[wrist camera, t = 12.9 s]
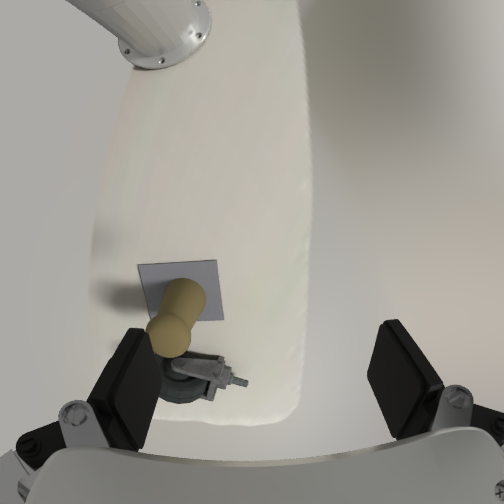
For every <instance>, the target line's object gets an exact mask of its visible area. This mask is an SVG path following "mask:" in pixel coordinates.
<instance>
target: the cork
mask: <svg viewBox="0 0 504 504" xmlns="http://www.w3.org/2000/svg"><path fill="white" fill-rule="evenodd" d="M205 305H206V294H205V291H204V290H203V288H202V287H201V286H200V285H199V284H198V283H197V282H195V281H193V280H191V279H188V278H178V279H175V280H173V281H171V282H170V283H169V284H168V285H167V286H166V289H165V292H164V295H163V298H162V301H161V305H160V308H159V311H158V315H156V316H155V317H153V318H152V319H151V320H150V321H149V323H148V324H147V327H146V331H145V332H147V333H148V334H149V337H150V341H151V344H152V348H153V351H154V352H155V353H156V354H158V355H160V356H162V357H167V358H174V357H177V356H180V355H182V354H183V353H184V352H185V351H186V350H187V349H188V347H189V345H190V342H191V331H190V330H191V329H192V327H193V326H194V324H195V322H196V321H197V319H198V317H199V316H200V314H201V312H202V311H203V309H204V307H205Z"/></svg>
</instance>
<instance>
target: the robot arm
mask: <svg viewBox="0 0 504 504" xmlns="http://www.w3.org/2000/svg"><path fill="white" fill-rule="evenodd" d="M66 1H68V2H69V3H71V4H72V5H74V6H75V7H77V8H78V9H79V10H81V11H82V12H84V13H85V14H86V15H88V16H89V17H91V18H92V19H94V20H95V21H96V22H98V23H99V24H100V25H102V26H103V27H104V28H106V29H107V30H108V31H110V32H111V33H113V34H114V35H115V36H116V37H118V45H119V48H120V51H121V53H122V55H123V56H124V57H125V58H126V59H127V60H128V61H129V62H131V63H132V64H134V65H136V66H138V67H141V68H146V69H159V68H165V67H169V66H172V65H175V64H177V63H179V62H181V61H183V60H185V59H186V58H188V57H189V56H191V55H192V54H193V53H195V52H196V51H197V50H198V49H199V48H200V47H201V45H202V44H203V43H204V42H205V40H206V38H207V36H208V35H209V32H210V29H211V21H212V19H211V14H210V11H209V8H208V6H207V5H206V3H205V2H204V1H203V0H66ZM198 5H199V6H198ZM199 37H201V38H199ZM129 52H130V53H129ZM163 61H165V62H164V63H162V62H163ZM367 378H368V381H369V383H370V385H371V387H372V390H373V392H374V395H375V397H376V399H377V402H378V404H379V406H380V409H381V411H382V414H383V416H384V418H385V421H386V423H387V425H388V428H389V431H390V433H391V435H392V437H393V438H396V440H397V441H394V442H390V443H386V444H382V445H377V446H373V447H369V448H365V449H359V450H354V451H349V452H344V453H337V454H331V455H323V456H317V457H308V458H298V459H285V460H268V461H216V460H199V459H187V458H177V457H169V456H160V455H153V454H146V453H140V452H138V450H139V449H142V448H143V446H144V443H145V439H146V436H147V433H148V429H149V426H150V422H151V419H152V416H153V413H154V410H155V407H156V403H157V400H158V397H159V394H160V391H161V388H162V378H161V375H160V372H159V369H158V365H157V362H156V358H155V355H154V351H153V348H152V344H151V341H150V337H149V334H148V333H147V332H145V331H144V329H141V328H129V329H128V331H127V332H126V334H125V336H124V337H123V339H122V341H121V343H120V344H119V346H118V348H117V349H116V351H115V353H114V355H113V356H112V358H110V360H109V361H108V363H107V364H106V366H105V368H104V370H103V372H102V373H101V375H100V377H99V379H98V381H97V382H96V384H95V386H94V388H93V390H92V392H91V393H90V395H89V397H88V399H87V401H86V402H85V401H82V400H74V401H70V402H69V403H66V404H65V405H64V406H63V407H62V408H61V410H60V411H59V415H58V417H59V421H56V422H53V423H51V424H49V425H46V426H43V427H41V428H38V429H35V430H33V431H30V432H27V433H25V434H23V435H22V436H21V437H20V438H19V439H18V441H17V443H16V450H15V451H12V449H11V450H10V451H8V452H7V453H5V454H4V455H3V456H1V457H0V504H504V413H502V412H499V411H495V410H492V409H489V408H485V407H483V406H479V405H476V404H473V403H474V402H473V401H474V400H473V396H472V393H471V392H470V391H469V390H468V389H467V388H465V387H463V386H461V385H450V386H448V387H446V388H445V386H444V385H443V382H442V380H441V379H440V377H439V376H438V374H437V373H436V371H435V370H434V368H433V367H432V366H431V364H430V362H429V361H428V360H427V358H426V357H425V355H424V354H423V353H422V351H421V350H420V348H419V347H418V345H417V344H416V343H415V341H414V340H413V339H412V337H411V336H410V334H409V333H408V332H407V330H406V329H405V328H404V326H403V325H402V324H401V322H400V321H399V320H398V319H394V320H386V321H384V323H383V324H381V325H380V327H379V330H378V335H377V338H376V342H375V346H374V350H373V354H372V357H371V361H370V364H369V368H368V371H367Z"/></svg>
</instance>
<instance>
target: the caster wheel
mask: <svg viewBox="0 0 504 504" xmlns="http://www.w3.org/2000/svg"><path fill="white" fill-rule="evenodd" d="M155 358H156V362H157V365H158V369H159V372H160V375H161V378H162V388H161V391H160V394H159V397H160V398H162V399H163V400H165V401H167V402H172V403H177V404H183V403H191V402H193V401H195V400H197V399H199V398H201V399H205V400H209V401H213V400H214V397H215V393H216V390H217V388H221V389H226V386H227V385H231V384H236V385H239V386H243V387H247V385H248V380H244V379H241V378H238V377H234V375H233V374H232V373H231V369H232V368H231V367H229V366H225V361H224V357H221V356H219V358H218V360H205V359H199V358H198V357H197V356H195V355H193V354H191V353H189V352H186V351H185V352H184V353H183V354H182V355H180V356H177V357H174V358H167V357H162V356H160V355H158V354H155Z"/></svg>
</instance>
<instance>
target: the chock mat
mask: <svg viewBox="0 0 504 504" xmlns="http://www.w3.org/2000/svg"><path fill="white" fill-rule="evenodd" d="M138 266H139V271H140V275H141V280H142V284H143V289H144V293H145V297H146V301H147V305H148V309H149V313H150V317H151V319H152V318H153V317H155V316H156V315H158V311H159V308H160V305H161V301H162V298H163V295H164V292H165V289H166V286H167V285H168V284H169V283H170V282H171V281H173V280H175V279H178V278H188V279H191V280H193V281H195V282H197V283H198V284H199V285H200V286H201V287H202V288H203V290H204V291H205V294H206V305H205V307H204V309H203V311H202V312H201V314H200V316H199V317H198V319H197V321H215V320H224V314H223V306H222V299H221V291H220V284H219V276H218V268H217V260H206V261H190V262H174V263H157V264H141V265H138Z"/></svg>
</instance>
